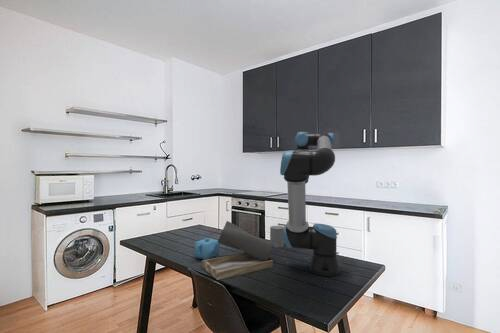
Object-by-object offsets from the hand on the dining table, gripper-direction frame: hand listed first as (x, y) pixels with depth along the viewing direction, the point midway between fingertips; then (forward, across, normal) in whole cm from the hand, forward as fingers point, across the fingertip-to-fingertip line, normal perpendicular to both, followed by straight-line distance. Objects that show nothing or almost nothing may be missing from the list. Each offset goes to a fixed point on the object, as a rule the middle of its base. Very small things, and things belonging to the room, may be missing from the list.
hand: (302, 193), depth 171 cm
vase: (+32, +27, +3) cm, 42 cm away
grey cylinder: (+37, +6, -18) cm, 41 cm away
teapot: (+37, +57, -18) cm, 70 cm away
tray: (+36, +48, +3) cm, 60 cm away
